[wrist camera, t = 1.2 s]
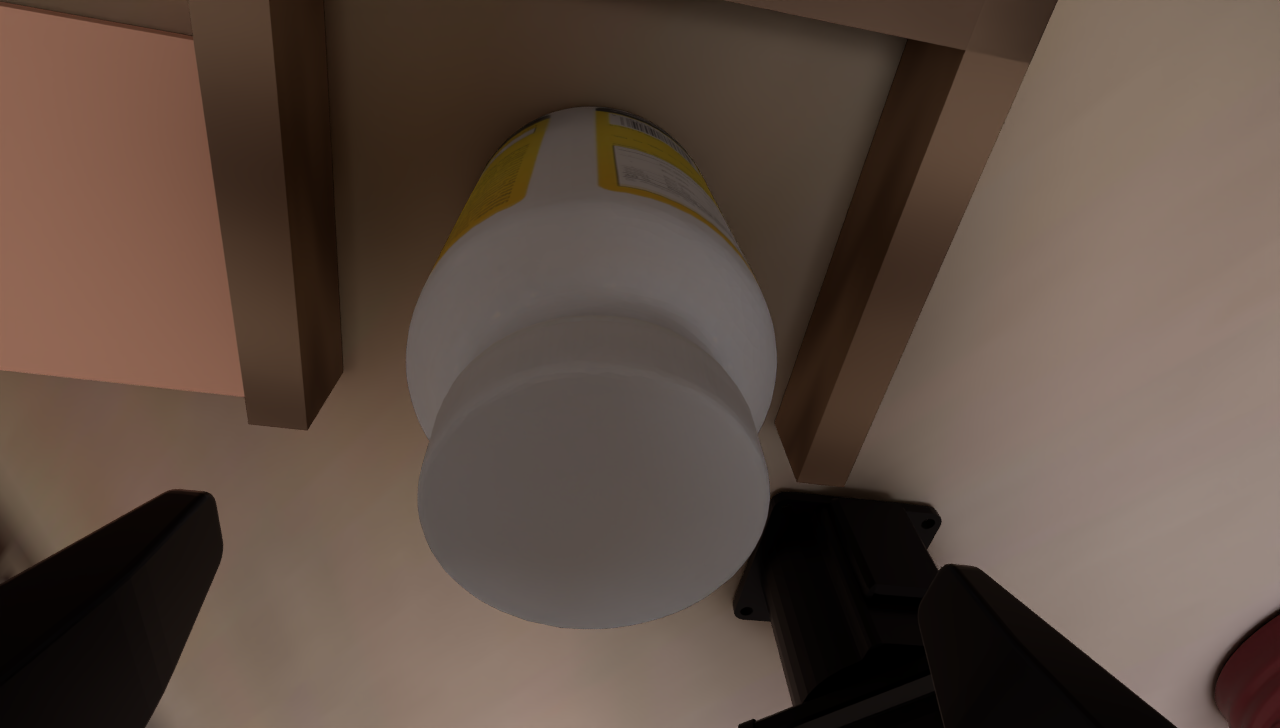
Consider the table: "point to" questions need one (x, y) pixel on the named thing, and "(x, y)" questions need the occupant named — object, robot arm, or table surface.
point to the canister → (1252, 681)
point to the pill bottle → (591, 380)
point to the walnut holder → (852, 289)
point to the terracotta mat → (109, 208)
